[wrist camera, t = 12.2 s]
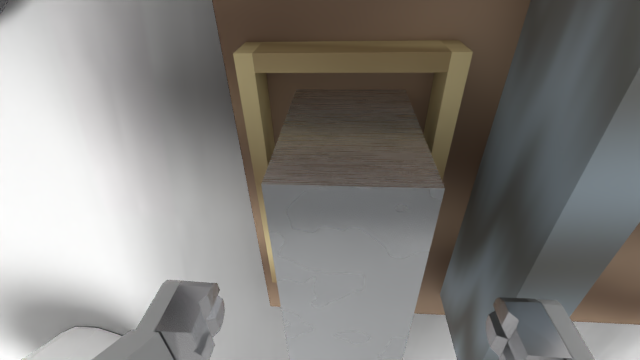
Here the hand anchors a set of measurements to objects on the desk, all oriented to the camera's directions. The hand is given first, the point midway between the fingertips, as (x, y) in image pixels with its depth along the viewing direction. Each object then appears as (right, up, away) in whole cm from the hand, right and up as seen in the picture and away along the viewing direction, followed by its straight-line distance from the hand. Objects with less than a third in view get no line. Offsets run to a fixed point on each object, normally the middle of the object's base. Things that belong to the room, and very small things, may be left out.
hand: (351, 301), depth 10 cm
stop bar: (0, +4, +5) cm, 6 cm away
